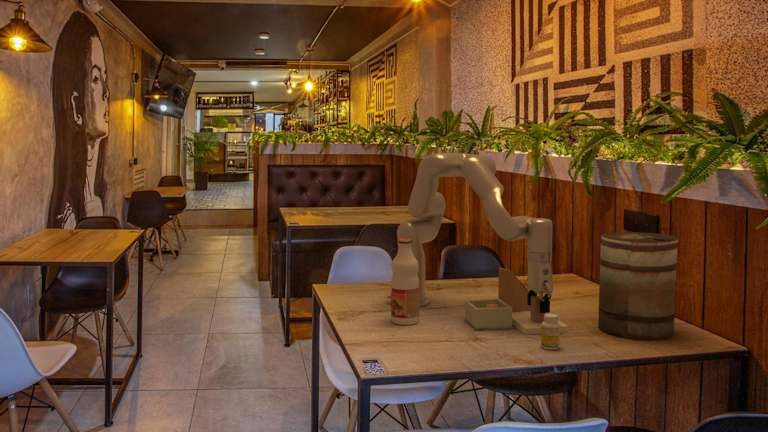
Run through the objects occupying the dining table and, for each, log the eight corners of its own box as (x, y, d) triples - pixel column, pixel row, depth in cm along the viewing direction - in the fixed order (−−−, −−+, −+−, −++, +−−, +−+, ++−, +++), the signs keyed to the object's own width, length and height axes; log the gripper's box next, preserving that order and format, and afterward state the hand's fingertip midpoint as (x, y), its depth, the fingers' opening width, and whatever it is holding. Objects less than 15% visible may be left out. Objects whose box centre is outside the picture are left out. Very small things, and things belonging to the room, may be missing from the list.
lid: (525, 334, 200) (526, 303, 199) (509, 322, 214) (510, 293, 213) (567, 332, 203) (568, 301, 201) (548, 320, 216) (549, 291, 215)
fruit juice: (419, 325, 211) (419, 241, 208) (391, 325, 211) (390, 241, 208) (418, 317, 220) (418, 237, 217) (391, 318, 220) (390, 237, 217)
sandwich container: (547, 308, 232) (548, 268, 230) (510, 313, 226) (511, 271, 224) (533, 303, 240) (534, 263, 238) (497, 307, 234) (498, 267, 232)
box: (476, 330, 204) (476, 309, 204) (464, 320, 216) (465, 300, 215) (511, 328, 207) (512, 307, 206) (498, 318, 218) (499, 298, 217)
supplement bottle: (554, 351, 184) (555, 318, 183) (537, 347, 187) (538, 315, 186) (562, 346, 188) (563, 315, 187) (546, 343, 191) (546, 311, 190)
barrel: (679, 326, 208) (683, 235, 204) (667, 345, 189) (671, 244, 186) (607, 316, 220) (610, 230, 217) (589, 333, 201) (592, 238, 198)
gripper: (562, 261, 198) (561, 315, 200) (539, 251, 215) (538, 301, 217) (539, 262, 196) (538, 316, 198) (518, 252, 213) (517, 302, 215)
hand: (538, 308), depth 207 cm, fingers open, 9 cm apart
